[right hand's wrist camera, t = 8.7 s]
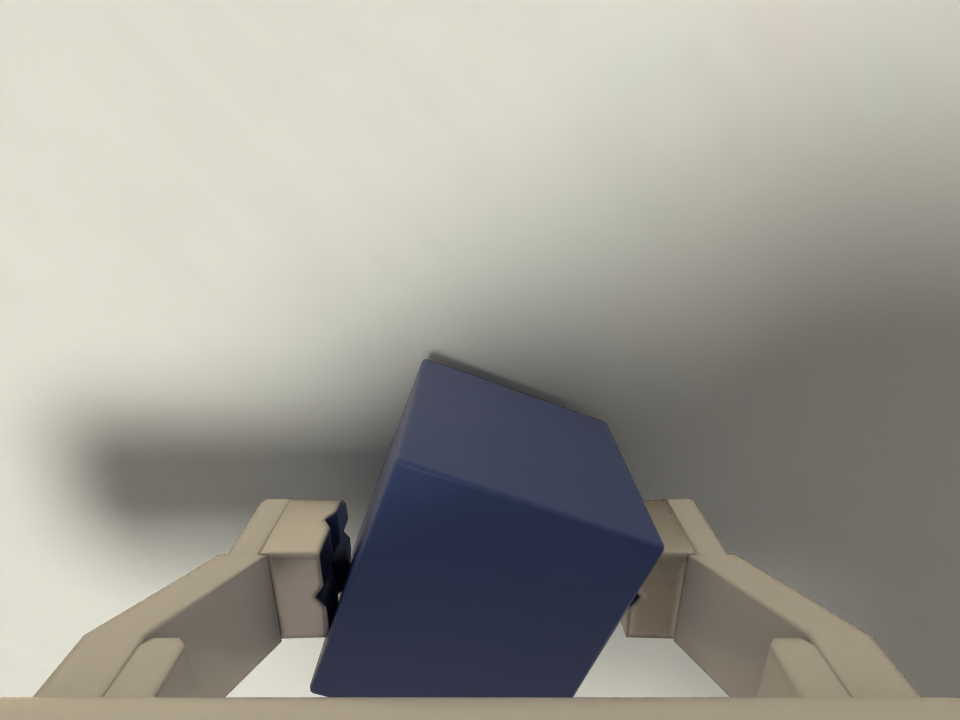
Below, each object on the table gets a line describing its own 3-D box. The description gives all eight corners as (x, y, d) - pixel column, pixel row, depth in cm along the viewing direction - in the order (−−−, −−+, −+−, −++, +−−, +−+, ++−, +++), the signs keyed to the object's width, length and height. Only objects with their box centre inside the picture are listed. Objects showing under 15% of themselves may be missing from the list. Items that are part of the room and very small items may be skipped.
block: (358, 534, 13) (307, 694, 9) (424, 356, 11) (394, 459, 7) (522, 584, 13) (539, 755, 9) (607, 421, 12) (668, 548, 8)
